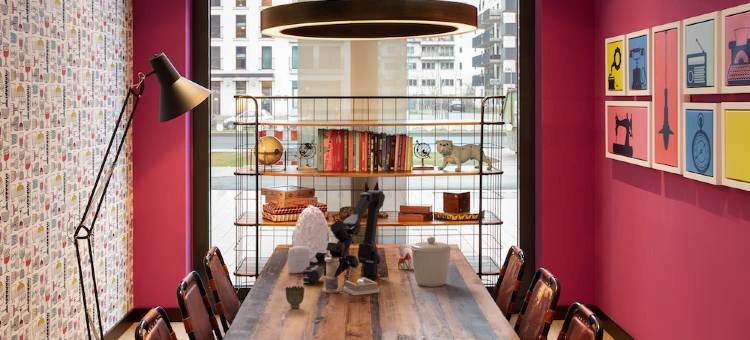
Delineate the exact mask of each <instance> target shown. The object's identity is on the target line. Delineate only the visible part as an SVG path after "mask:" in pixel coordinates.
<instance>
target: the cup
mask: <svg viewBox="0 0 750 340" xmlns="http://www.w3.org/2000/svg"><path fill="white" fill-rule="evenodd" d="M304 296H305V287H304V286H303V285H301V286H299V285H297V286H296V285H292V286H289V287H288V286H286V287H285V297H286V301H287V303H288V304H289V307H290V308H291V309H294V310H297V309H299V308H300V307H301V306H300V305H301V303H302V302H303V300H304Z"/></svg>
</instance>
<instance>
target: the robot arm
mask: <svg viewBox="0 0 750 340" xmlns="http://www.w3.org/2000/svg"><path fill="white" fill-rule="evenodd" d="M385 195H386V194H385V193H384V192H383V190H373V189H372V190H371V189H370V190H369V189H368V191H366V192H361V193H360V195H359V197H358V198H359V199H358V200H357V202H356V204H355V207H354V209H352V213H350V215H349V216H348V217H347V218H345V219H344V221H343V219H337V221H334V222H333V223H332V224H331V225H330V227H329V228H330V229H329V230H330V232H331V233H332V234H333V236H334V238H335V239H336V240H337V242H331V243H330V242H328V245H327V249H326V250H328V251H330V252H329V256H328V254H326V253H324V252H317V253H316V255H315V258H316V259H317V261H318V262H317V263H318V264H319V265H323V276H324V277H326V261H325V258H327V257H336V258H339V261H338V262H337V263H338V265H337V271H336V273H335V277H337V278H338V277H339V276H340V275H341V274H342V273H344V272H346V270H349V269H351V268H352V269H357V268H358V266H359V264H361V266H360V275H359V276H361V277H362V278H367V279H370V278H379V275H378V265H380V264H381V257H380V255H379V253H378V246H377V245H376V243H375V242H376V241H375V240H376V234H377V227H378V220H379V219H378V218H379V211H380V209H381V208H382V207H383V206H384V202H385V199H386V196H385ZM366 211H367V215H366V221H365V222H366V223H365V229H364V235H363V236H364V237H363V241H362V242H361V243H359V244H358V249H357V256H355V255H353V254H349V253H350V251H349V250H350V247H351V245H354V244H355V240H354V238H353V237H352V236H358V235H359V233H360V231H361V227H362V224H361V222H362V219H363V218H364V215H365V213H366Z"/></svg>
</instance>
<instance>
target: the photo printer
mask: <svg viewBox="0 0 750 340" xmlns="http://www.w3.org/2000/svg"><path fill="white" fill-rule="evenodd" d="M287 251H288V253H287V260H288V261H287V271H288V272H287V273H288V274H300V273H302V274H303V270H304V269H306V267H310V262H309V253H310V251H309V248H308V247H305V246H295V247H292V246H291V247H289V248H288V250H287Z"/></svg>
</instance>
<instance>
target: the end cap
mask: <svg viewBox="0 0 750 340" xmlns="http://www.w3.org/2000/svg"><path fill="white" fill-rule="evenodd" d="M302 275H303V276H306V277H303V278H302V282H303V285H308V286H309V285H310V286H312V285H315V284H316V283H318V282H319V280H320V279H321V278H322V276H324V269H322V267H321V266H319V265H315V266H309V267H306V269H304V270H303V273H302Z"/></svg>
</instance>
